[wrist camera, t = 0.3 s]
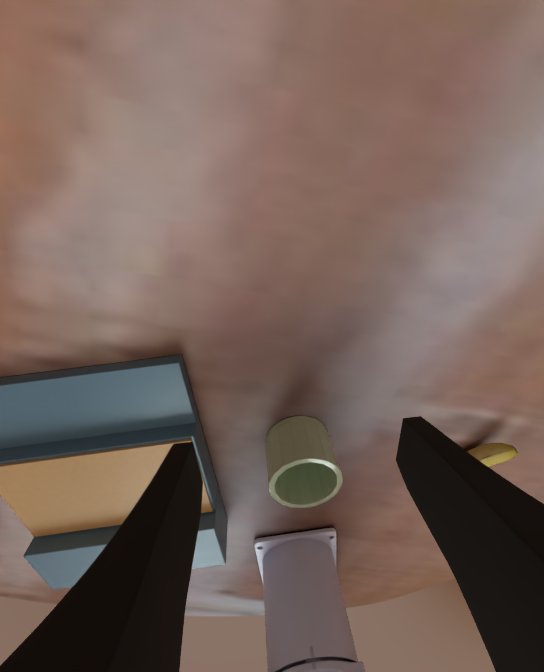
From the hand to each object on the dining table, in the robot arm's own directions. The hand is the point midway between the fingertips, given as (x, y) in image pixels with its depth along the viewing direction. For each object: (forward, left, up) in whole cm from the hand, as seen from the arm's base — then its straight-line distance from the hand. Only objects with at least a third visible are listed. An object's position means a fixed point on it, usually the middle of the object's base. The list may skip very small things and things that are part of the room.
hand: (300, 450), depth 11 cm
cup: (-10, -1, -10) cm, 14 cm away
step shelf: (-10, +13, -10) cm, 19 cm away
